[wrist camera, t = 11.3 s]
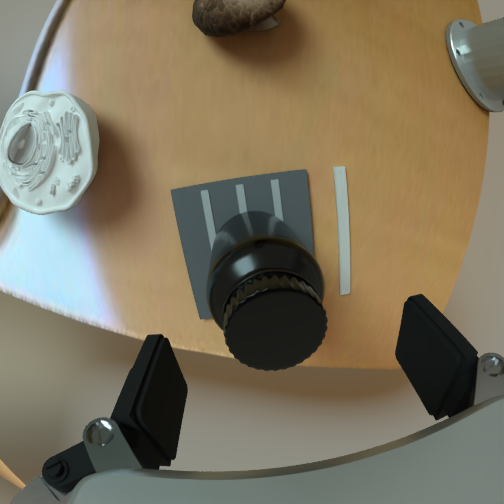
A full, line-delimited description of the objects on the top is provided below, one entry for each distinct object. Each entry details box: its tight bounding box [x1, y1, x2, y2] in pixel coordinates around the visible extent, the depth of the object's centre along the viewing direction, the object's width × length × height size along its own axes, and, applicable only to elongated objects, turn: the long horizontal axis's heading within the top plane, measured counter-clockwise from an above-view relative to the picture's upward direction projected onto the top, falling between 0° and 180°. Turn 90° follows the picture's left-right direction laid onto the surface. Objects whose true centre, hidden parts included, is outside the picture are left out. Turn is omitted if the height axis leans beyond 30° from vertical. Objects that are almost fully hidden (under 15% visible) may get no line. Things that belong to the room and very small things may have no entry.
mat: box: [171, 170, 314, 319], centre depth 24 cm, size 11×12×1 cm
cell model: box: [0, 90, 99, 215], centre depth 17 cm, size 10×12×7 cm
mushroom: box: [192, 0, 286, 37], centre depth 15 cm, size 8×8×6 cm
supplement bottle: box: [206, 211, 328, 371], centre depth 18 cm, size 7×7×12 cm
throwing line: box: [333, 166, 350, 295], centre depth 24 cm, size 1×12×1 cm, turn 8°
